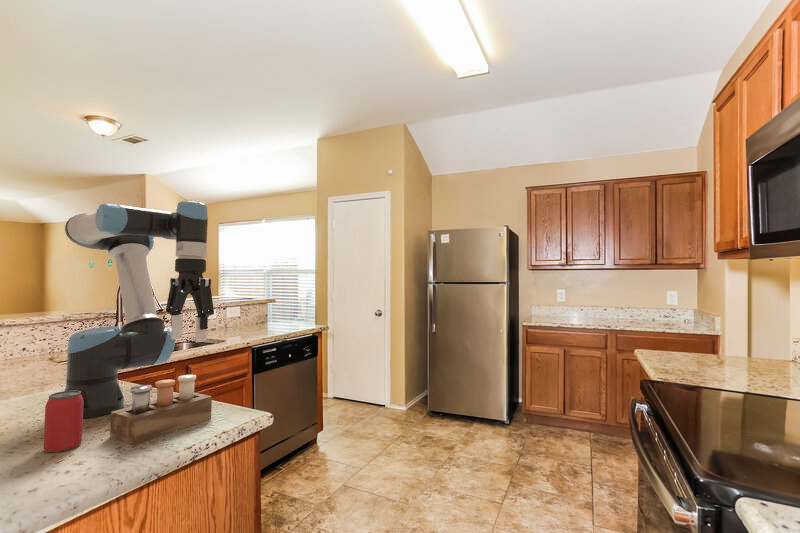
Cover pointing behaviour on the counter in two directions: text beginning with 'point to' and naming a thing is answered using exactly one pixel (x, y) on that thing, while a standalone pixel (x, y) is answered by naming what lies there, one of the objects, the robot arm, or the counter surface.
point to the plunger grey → (140, 399)
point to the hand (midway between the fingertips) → (188, 340)
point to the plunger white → (186, 387)
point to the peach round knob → (164, 392)
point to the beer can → (63, 421)
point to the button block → (159, 419)
